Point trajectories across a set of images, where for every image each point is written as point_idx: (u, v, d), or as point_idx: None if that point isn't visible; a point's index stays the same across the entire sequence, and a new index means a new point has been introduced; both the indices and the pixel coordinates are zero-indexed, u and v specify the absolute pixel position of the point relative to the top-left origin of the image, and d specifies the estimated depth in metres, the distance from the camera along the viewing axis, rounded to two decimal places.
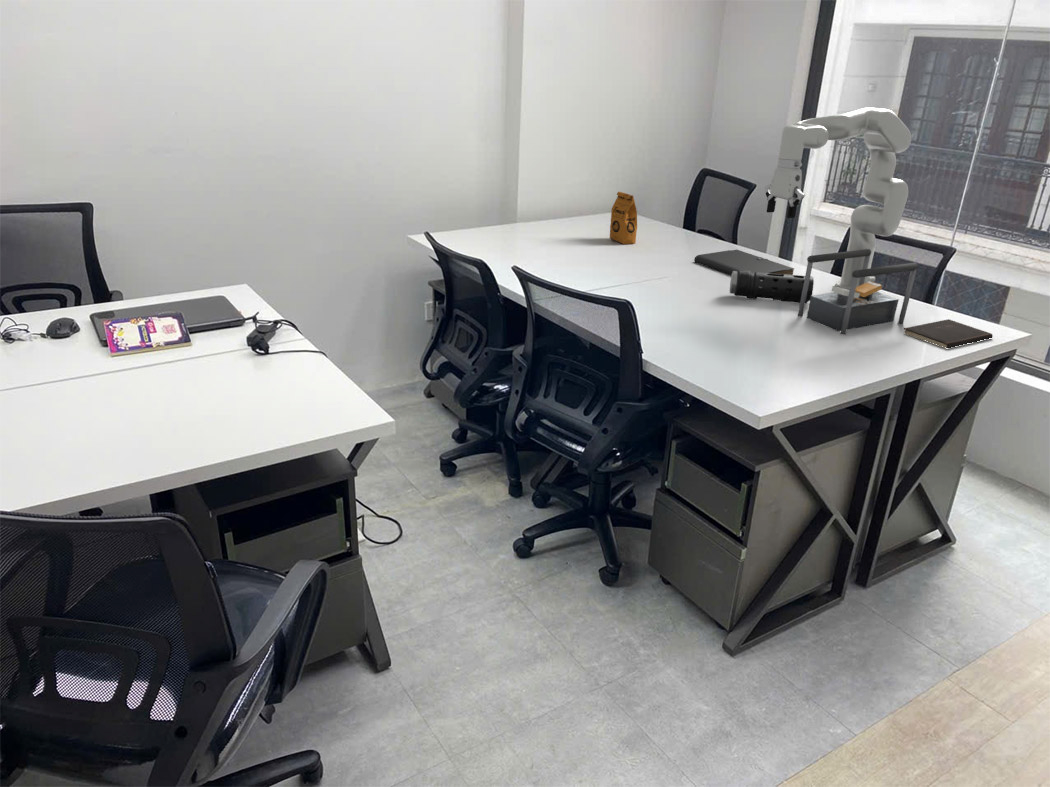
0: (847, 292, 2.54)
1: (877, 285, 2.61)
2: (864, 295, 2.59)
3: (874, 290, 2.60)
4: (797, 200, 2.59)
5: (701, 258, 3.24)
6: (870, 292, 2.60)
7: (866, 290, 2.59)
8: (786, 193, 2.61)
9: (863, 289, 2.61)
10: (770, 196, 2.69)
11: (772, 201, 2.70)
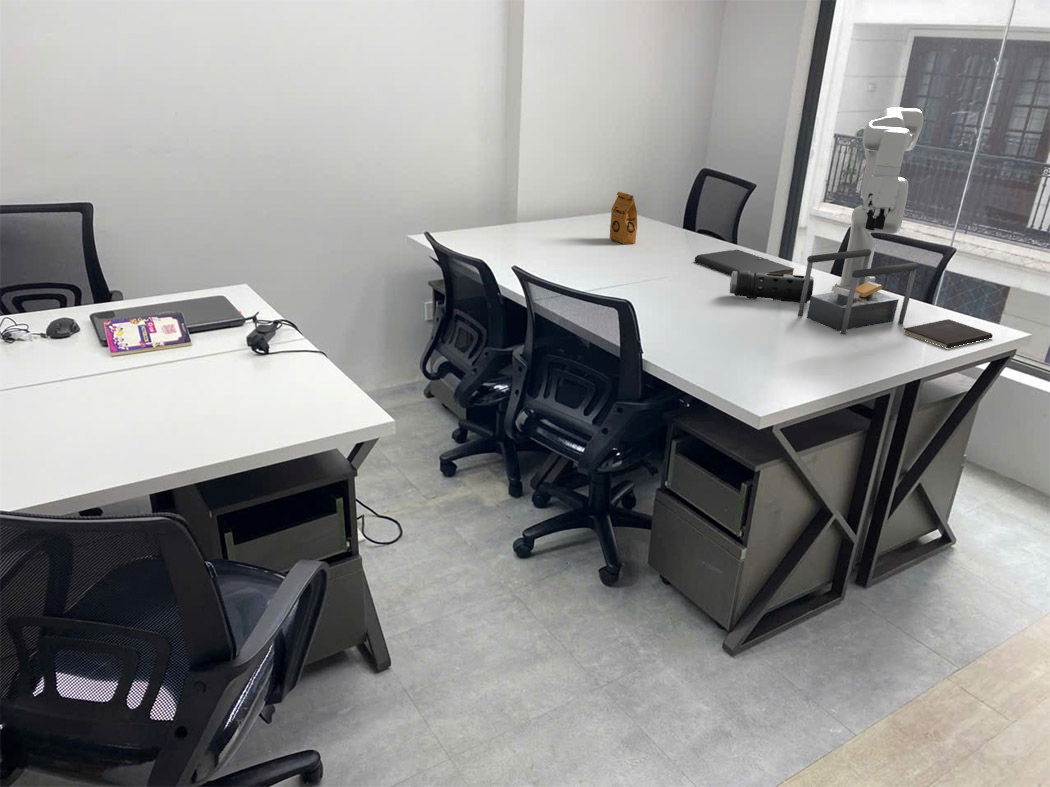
0: (847, 292, 2.54)
1: (877, 285, 2.61)
2: (864, 295, 2.59)
3: (874, 290, 2.60)
4: (889, 209, 2.50)
5: (701, 258, 3.25)
6: (870, 292, 2.60)
7: (866, 290, 2.59)
8: (892, 201, 2.48)
9: (863, 289, 2.61)
10: (876, 212, 2.47)
11: None
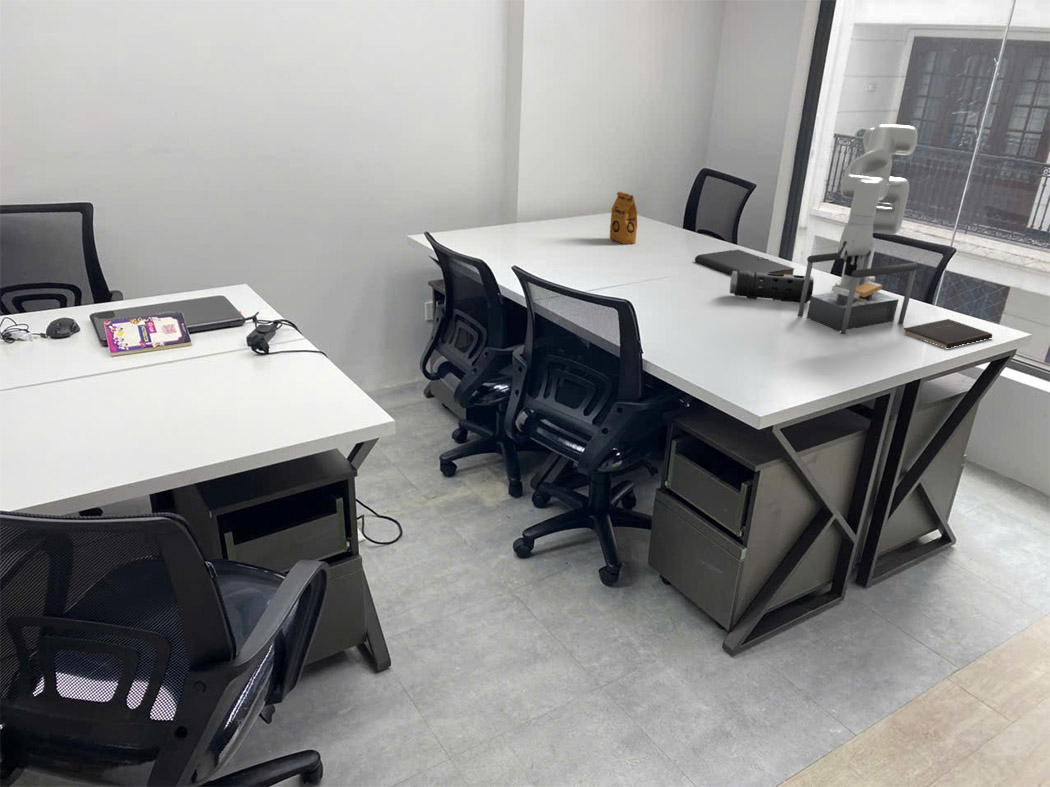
0: (847, 292, 2.54)
1: (877, 285, 2.61)
2: (864, 295, 2.59)
3: (874, 290, 2.60)
4: (861, 256, 2.53)
5: (701, 258, 3.25)
6: (870, 292, 2.60)
7: (866, 290, 2.59)
8: (867, 248, 2.51)
9: (863, 289, 2.61)
10: (853, 259, 2.51)
11: None
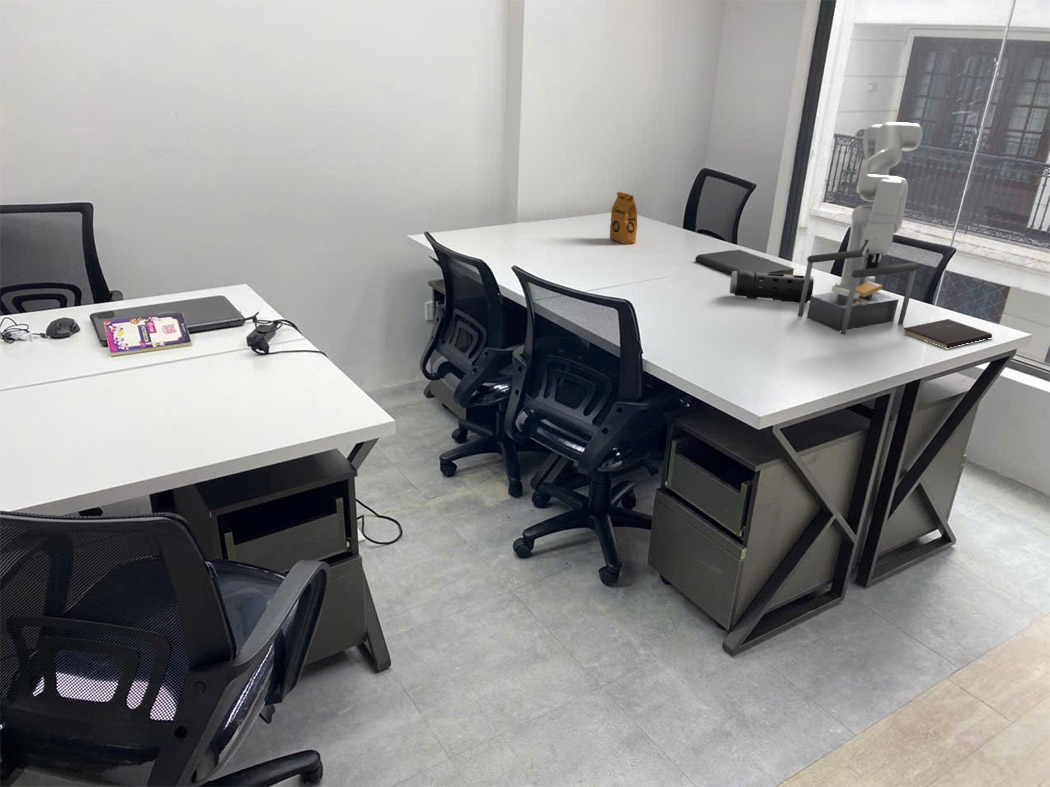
0: (847, 292, 2.54)
1: (877, 285, 2.61)
2: (864, 295, 2.59)
3: (874, 290, 2.60)
4: (882, 254, 2.57)
5: (702, 258, 3.25)
6: (870, 292, 2.60)
7: (866, 290, 2.59)
8: (888, 246, 2.55)
9: (863, 289, 2.61)
10: (874, 257, 2.55)
11: None
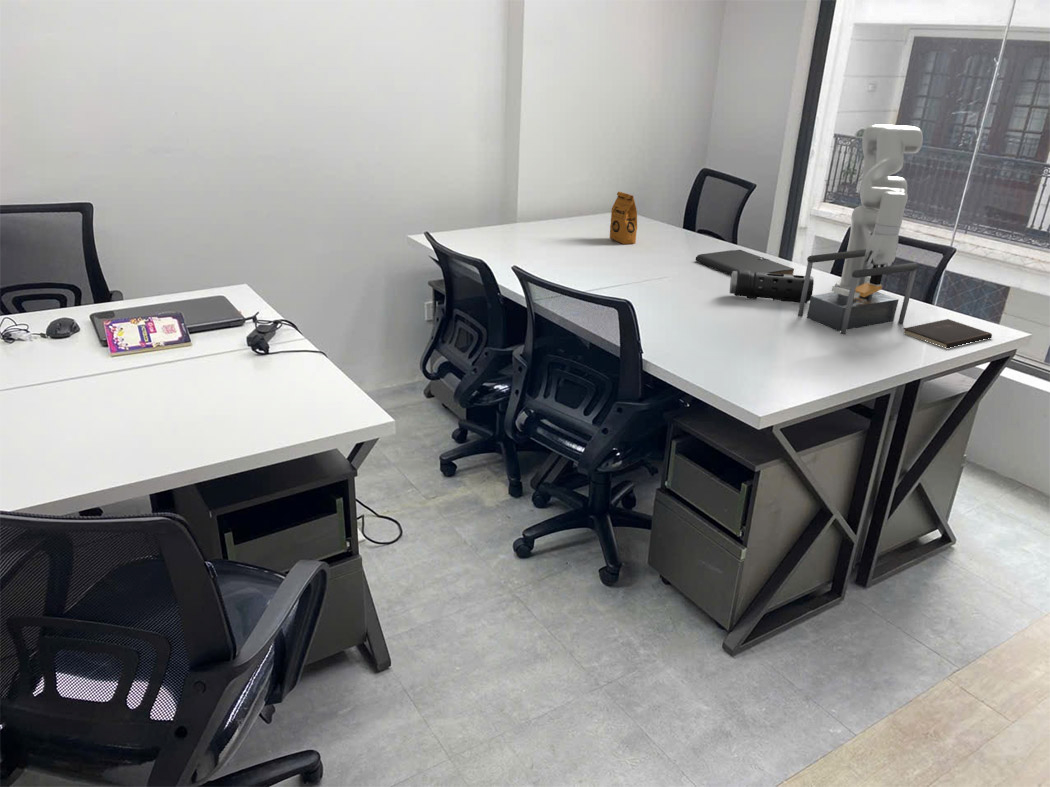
0: (847, 292, 2.54)
1: (877, 285, 2.61)
2: (864, 295, 2.59)
3: (874, 290, 2.60)
4: (886, 265, 2.60)
5: (702, 257, 3.25)
6: (870, 292, 2.60)
7: (866, 290, 2.59)
8: (892, 257, 2.58)
9: (863, 289, 2.61)
10: None
11: None
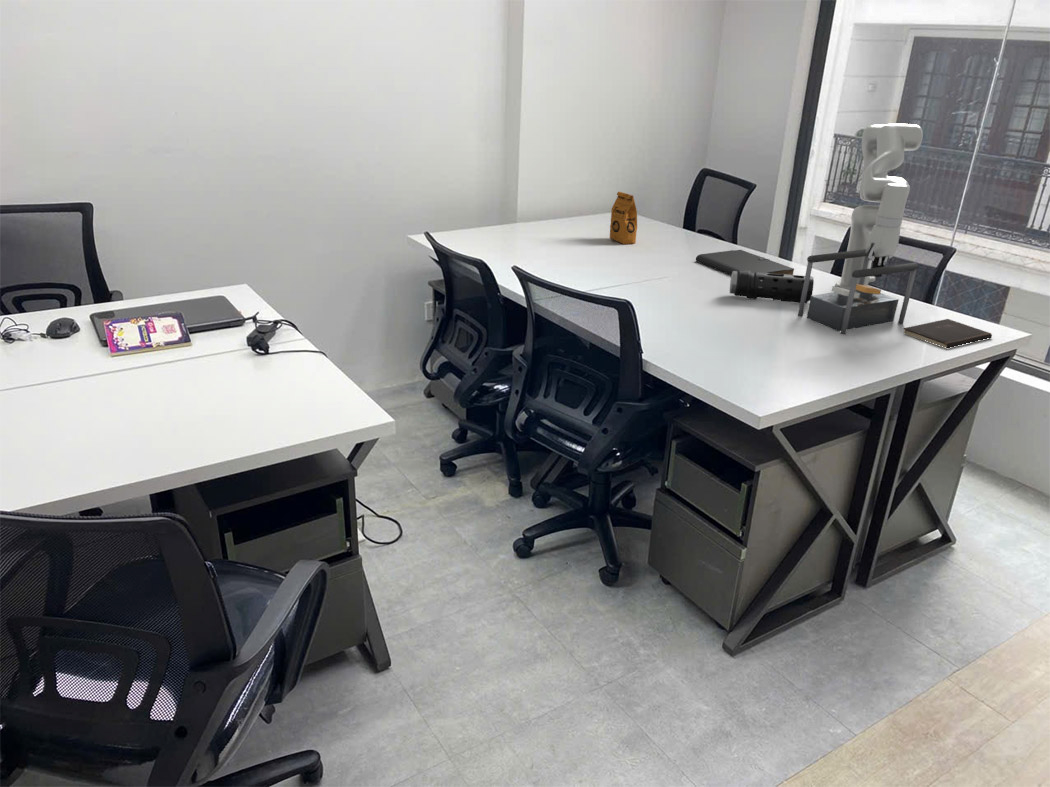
0: (847, 292, 2.54)
1: (877, 289, 2.61)
2: (865, 290, 2.58)
3: (874, 291, 2.60)
4: (888, 257, 2.60)
5: (702, 257, 3.26)
6: (870, 291, 2.59)
7: (867, 287, 2.59)
8: (894, 249, 2.57)
9: (864, 286, 2.60)
10: (880, 260, 2.58)
11: None
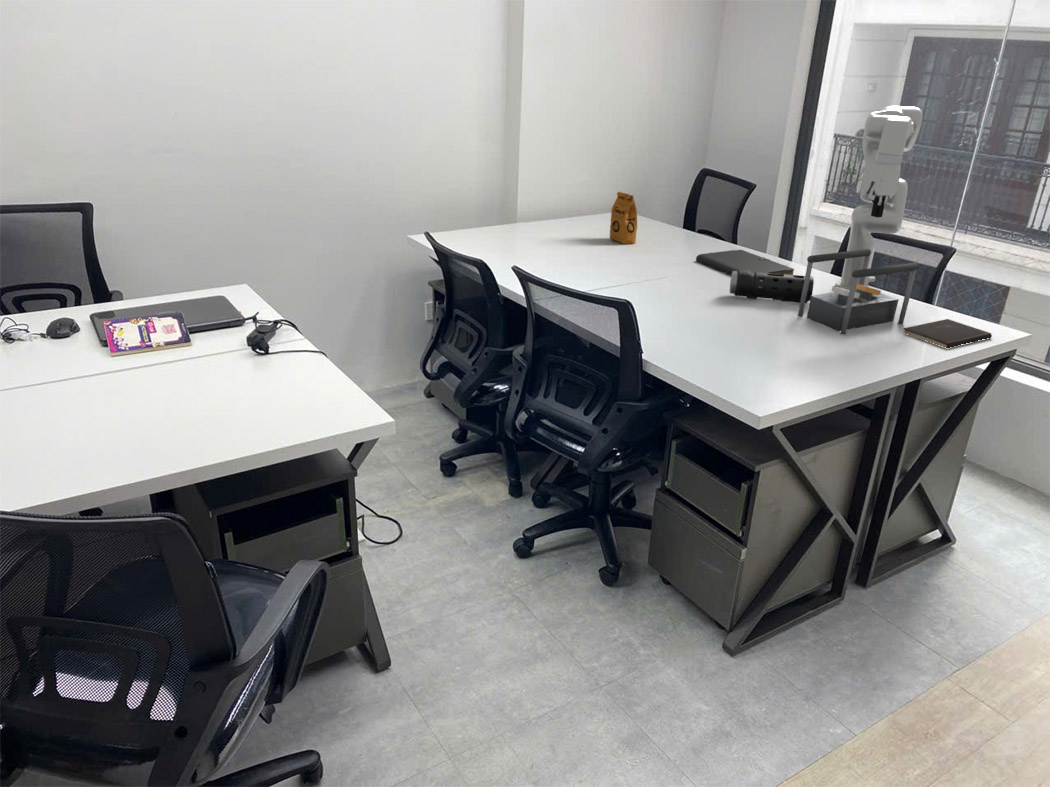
0: (847, 292, 2.54)
1: None
2: (865, 289, 2.58)
3: (874, 291, 2.60)
4: (888, 197, 2.54)
5: (702, 257, 3.26)
6: (870, 290, 2.59)
7: (868, 287, 2.59)
8: (894, 188, 2.51)
9: None
10: (880, 199, 2.52)
11: None
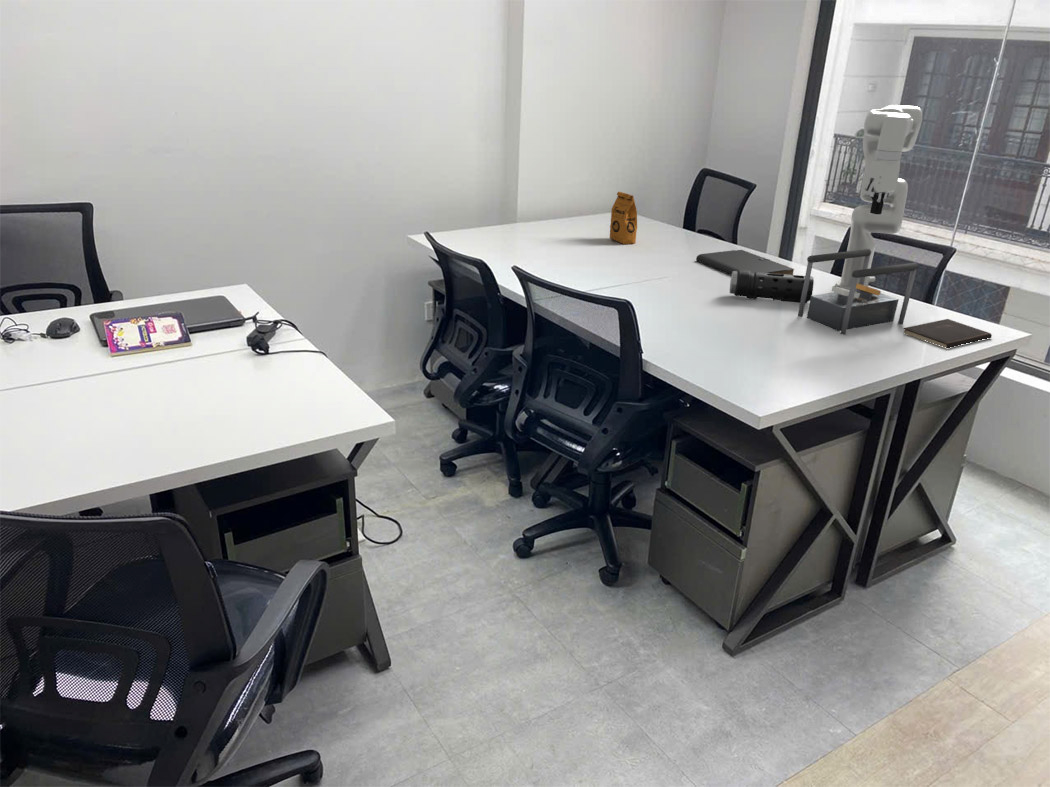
0: (847, 292, 2.54)
1: None
2: (865, 289, 2.58)
3: (874, 291, 2.60)
4: (887, 194, 2.53)
5: (702, 257, 3.26)
6: (870, 290, 2.59)
7: (868, 287, 2.59)
8: (893, 185, 2.51)
9: None
10: (880, 196, 2.51)
11: None
